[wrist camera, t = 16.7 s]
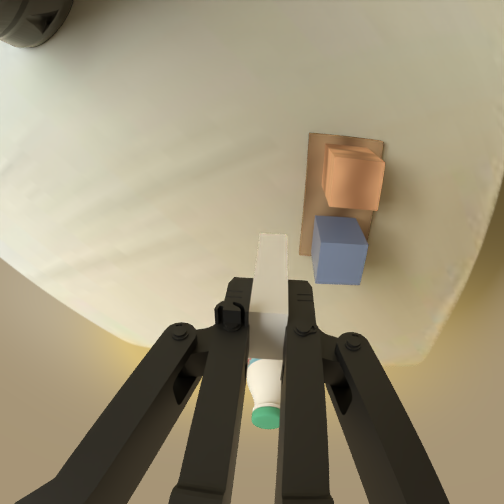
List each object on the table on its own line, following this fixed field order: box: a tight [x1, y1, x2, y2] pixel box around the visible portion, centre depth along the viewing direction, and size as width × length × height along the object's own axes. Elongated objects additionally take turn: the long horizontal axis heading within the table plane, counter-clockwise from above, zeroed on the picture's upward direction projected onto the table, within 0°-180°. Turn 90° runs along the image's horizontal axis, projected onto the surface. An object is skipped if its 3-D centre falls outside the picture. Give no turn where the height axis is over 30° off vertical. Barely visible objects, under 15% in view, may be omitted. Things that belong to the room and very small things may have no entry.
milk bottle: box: [247, 358, 283, 429], centre depth 48 cm, size 8×8×20 cm
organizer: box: [299, 133, 385, 256], centre depth 39 cm, size 10×18×9 cm, turn 179°
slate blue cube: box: [311, 215, 368, 285], centre depth 41 cm, size 6×6×8 cm
